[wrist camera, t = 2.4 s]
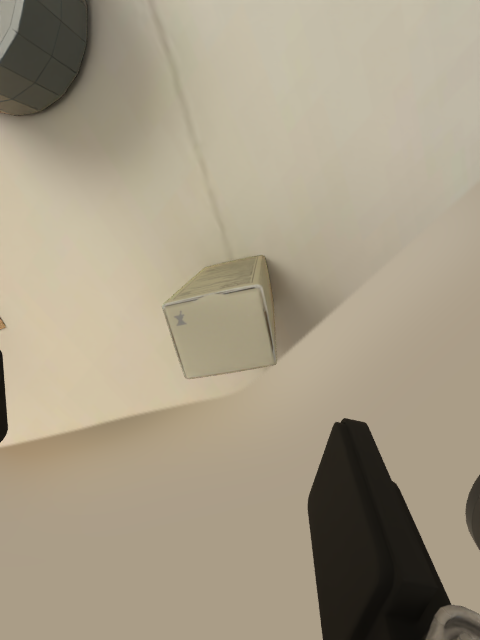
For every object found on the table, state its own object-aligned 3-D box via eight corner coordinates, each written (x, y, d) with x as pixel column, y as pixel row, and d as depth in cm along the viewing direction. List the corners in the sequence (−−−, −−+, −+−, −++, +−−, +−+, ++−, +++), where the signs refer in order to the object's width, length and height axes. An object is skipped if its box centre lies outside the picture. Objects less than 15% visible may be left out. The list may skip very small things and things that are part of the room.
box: (215, 316, 27) (178, 382, 17) (203, 265, 26) (154, 304, 16) (277, 305, 26) (279, 367, 16) (267, 252, 25) (262, 283, 15)
